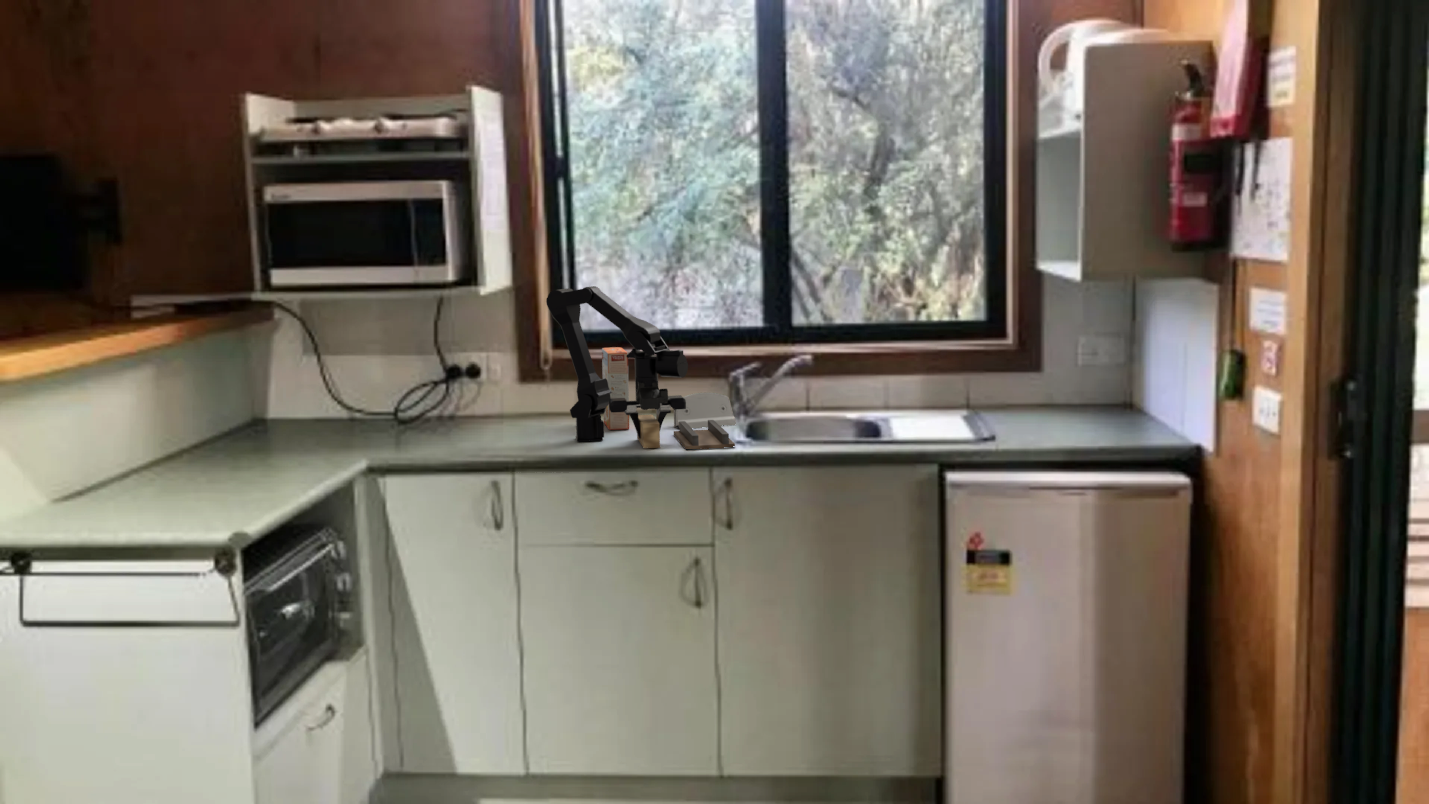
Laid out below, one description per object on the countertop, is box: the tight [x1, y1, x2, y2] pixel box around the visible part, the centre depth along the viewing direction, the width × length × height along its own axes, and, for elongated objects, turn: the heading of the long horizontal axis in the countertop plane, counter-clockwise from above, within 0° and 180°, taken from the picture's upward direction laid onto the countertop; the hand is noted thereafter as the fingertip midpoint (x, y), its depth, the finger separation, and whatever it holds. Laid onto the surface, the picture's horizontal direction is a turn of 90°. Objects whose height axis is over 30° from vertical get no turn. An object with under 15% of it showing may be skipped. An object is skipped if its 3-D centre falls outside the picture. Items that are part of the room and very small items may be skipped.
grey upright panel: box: [673, 392, 737, 429], centre depth 359 cm, size 17×5×10 cm, turn 110°
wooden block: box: [636, 414, 661, 449], centre depth 333 cm, size 4×14×6 cm, turn 10°
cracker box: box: [601, 346, 630, 431], centre depth 359 cm, size 14×6×21 cm, turn 10°
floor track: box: [673, 420, 736, 450], centre depth 335 cm, size 12×22×4 cm, turn 10°
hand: (648, 437), depth 333 cm, fingers closed on wooden block, 4 cm apart
